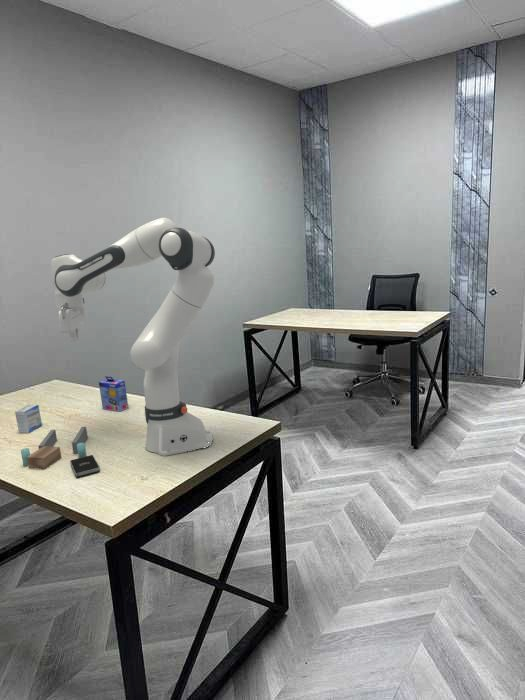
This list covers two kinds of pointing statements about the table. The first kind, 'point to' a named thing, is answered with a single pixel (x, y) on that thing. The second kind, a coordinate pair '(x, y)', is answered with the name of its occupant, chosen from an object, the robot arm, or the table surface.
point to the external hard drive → (84, 466)
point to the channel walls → (79, 438)
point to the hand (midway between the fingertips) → (75, 340)
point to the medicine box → (28, 418)
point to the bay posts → (80, 449)
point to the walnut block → (44, 457)
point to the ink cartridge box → (113, 394)
